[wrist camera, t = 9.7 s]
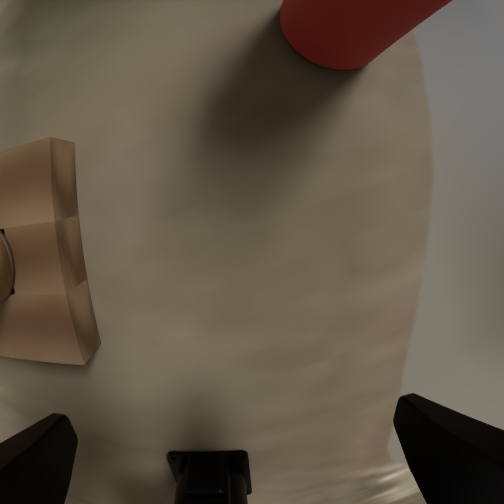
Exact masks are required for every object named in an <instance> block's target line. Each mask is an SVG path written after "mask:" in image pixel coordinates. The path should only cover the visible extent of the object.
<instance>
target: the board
mask: <svg viewBox="0 0 504 504" xmlns="http://www.w3.org/2000/svg"><path fill="white" fill-rule="evenodd" d="M0 229H4V233H5V237H6V238H7V240H8V242H9V244H10V246H11V249H12V252H13V256H14V260H15V270H16V275H15V283H14V287H13V289H12V292H11V293H10V295H9V296H8V298H7V299H5V300H4V301H2V302H1V303H0V356H4V357H10V358H18V359H25V360H33V361H42V362H51V363H62V364H74V365H85V364H86V363H87V361H88V360H89V359H90V357H91V356H92V354H93V353H94V352H95V350H96V349H97V348H98V346H99V345H100V344H101V341H100V337H99V333H98V329H97V324H96V320H95V315H94V311H93V306H92V301H91V296H90V291H89V286H88V280H87V275H86V269H85V262H84V256H83V249H82V241H81V233H80V224H79V215H78V204H77V190H76V173H75V143H73V142H69V141H65V140H60V139H56V138H52V137H49V138H45V139H42V140H38V141H34V142H31V143H27V144H24V145H21V146H17V147H14V148H11V149H8V150H5V151H2V152H0Z"/></svg>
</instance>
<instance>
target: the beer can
mask: <svg viewBox="0 0 504 504" xmlns="http://www.w3.org/2000/svg"><path fill="white" fill-rule="evenodd" d="M451 1H452V0H283V3H282V6H281V9H280V26H281V28H282V31H283V33H284V36H285V38H286V39H287V40H288V42H289V43H290V44H291V45H292V47H293V48H294V49H295V50H296V51H297V52H298V53H300V54H301V55H302V56H304V57H305V58H306V59H308V60H309V61H311V62H314V63H316V64H318V65H321V66H323V67H326V68H332V69H338V70H348V69H357V68H359V67H361V66H363V65H366V64H368V63H369V62H371V61H372V60H373V59H374V58H376V57H377V56H378V55H379V54H381V53H382V52H383V51H385V50H386V49H387V48H388V47H390V46H391V45H392V44H393V43H395V42H396V41H397V40H399V39H400V38H401V37H403V36H404V35H405V34H407V33H408V32H409V31H411V30H412V29H413V28H415V27H416V26H417V25H418V24H420V23H421V22H423V21H424V20H425V19H427V18H428V17H430V16H431V15H432V14H434V13H435V12H436V11H438V10H439V9H441V8H442V7H443V6H445V5H446V4H448V3H449V2H451Z"/></svg>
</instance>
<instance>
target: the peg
mask: <svg viewBox="0 0 504 504" xmlns="http://www.w3.org/2000/svg"><path fill="white" fill-rule="evenodd" d="M15 275H16V270H15V260H14V256H13V252H12V249H11V246H10V244H9V242H8V240H7V238H6V237H5V235H4V234H3V232H2V231H1V230H0V303H1V302H2V301H4V300H5V299H7V298H8V296H9V295H10V293H11V292H12V289H13V287H14V283H15Z"/></svg>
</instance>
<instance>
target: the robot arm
mask: <svg viewBox="0 0 504 504" xmlns="http://www.w3.org/2000/svg"><path fill="white" fill-rule="evenodd" d="M393 423H394V427H395V430H396V433H397V435H398V438H399V441H400V443H401V446H402V449H403V452H404V454H405V458H406V460H407V463H408V466H409V468H410V470H411V472H412V474H413V476H414V478H415V481H416V483H417V485H418V487H419V489H420V491H421V493H422V495H423V497H424V499H425V501H426V503H427V504H504V430H502V429H499V428H496V427H493V426H491V425H489V424H486V423H484V422H481V421H478V420H476V419H473V418H471V417H468V416H466V415H463V414H461V413H459V412H456V411H454V410H451V409H449V408H447V407H444V406H442V405H440V404H437V403H435V402H433V401H430V400H428V399H426V398H424V397H421V396H419V395H417V394H414V393H411V394H407V395H403V396H401V397H400V398H399V399H398V403H397V407H396V410H395V414H394V419H393ZM77 443H78V439H77V435H76V433H75V431H74V429H73V427H72V424H71V422H70V420H69V418H68V417H67V416H66V415H64V414H58V413H53V414H51V415H49V416H47V417H46V418H44V419H42V420H40V421H39V422H37V423H35V424H33V425H32V426H30V427H28V428H26V429H25V430H23V431H21V432H19V433H18V434H16V435H14V436H12V437H11V438H9V439H7V440H5V441H3V442H2V443H0V504H64V502H65V499H66V495H67V492H68V488H69V484H70V480H71V474H72V469H73V463H74V458H75V453H76V448H77ZM167 458H168V461H169V464H170V467H171V469H172V472H173V475H174V477H175V480H176V483H177V487H176V494H175V502H174V504H248V502H247V495H249V494H251V493H252V488H251V479H250V469H249V459H248V453H247V452H246V451H242V450H240V451H219V452H174V451H172V452H169V453H168V457H167Z"/></svg>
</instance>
